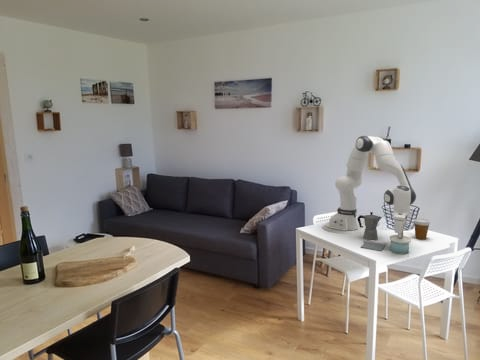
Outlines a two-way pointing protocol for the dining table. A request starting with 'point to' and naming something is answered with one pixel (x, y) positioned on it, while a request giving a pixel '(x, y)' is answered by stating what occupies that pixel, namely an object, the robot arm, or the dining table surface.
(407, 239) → the lid
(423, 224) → the disposable coffee cup
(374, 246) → the mat
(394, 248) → the crock
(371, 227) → the coffeepot
